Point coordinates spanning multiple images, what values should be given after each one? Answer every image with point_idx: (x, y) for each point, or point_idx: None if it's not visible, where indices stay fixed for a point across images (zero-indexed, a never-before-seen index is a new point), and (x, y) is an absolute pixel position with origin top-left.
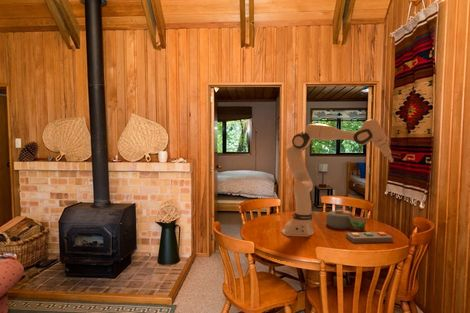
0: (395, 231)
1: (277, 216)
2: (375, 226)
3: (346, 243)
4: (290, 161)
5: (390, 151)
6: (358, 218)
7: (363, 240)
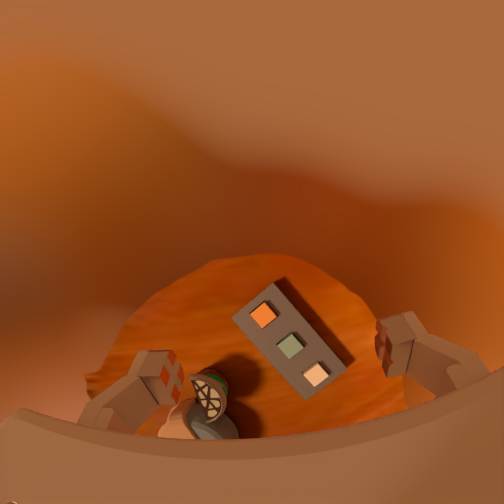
0: (166, 291)
1: None
2: (150, 346)
3: (358, 376)
4: None
5: (208, 474)
6: (220, 396)
7: (329, 347)
